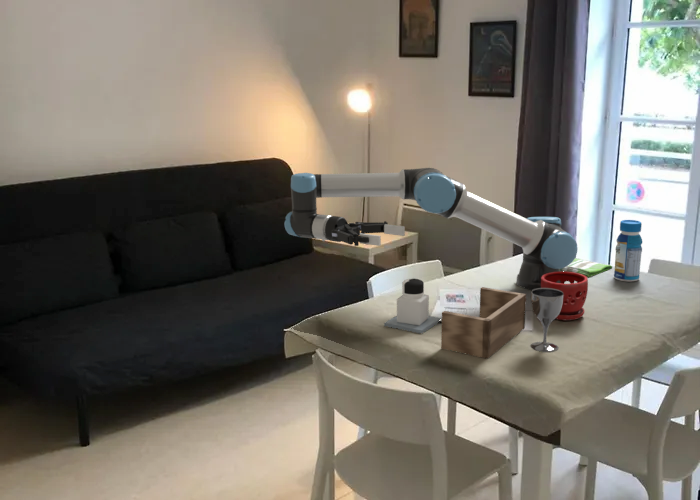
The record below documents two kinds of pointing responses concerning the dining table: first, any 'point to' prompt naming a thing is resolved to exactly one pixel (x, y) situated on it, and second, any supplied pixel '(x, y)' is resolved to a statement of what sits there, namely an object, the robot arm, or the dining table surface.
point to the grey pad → (414, 328)
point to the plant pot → (568, 292)
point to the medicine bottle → (412, 303)
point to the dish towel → (586, 267)
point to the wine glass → (546, 313)
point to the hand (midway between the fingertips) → (392, 235)
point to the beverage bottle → (628, 251)
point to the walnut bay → (485, 324)
